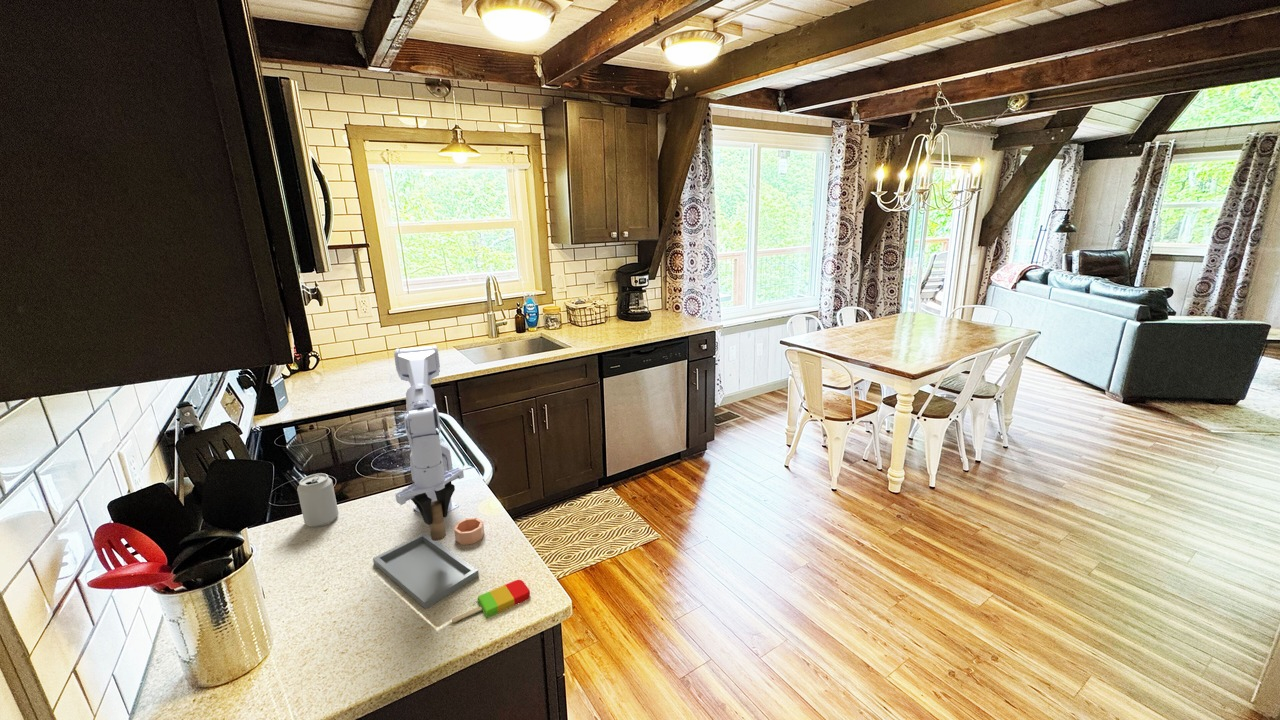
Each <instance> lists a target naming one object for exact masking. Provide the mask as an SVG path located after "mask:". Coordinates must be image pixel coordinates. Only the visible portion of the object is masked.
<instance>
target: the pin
mask: <svg viewBox="0 0 1280 720" xmlns="http://www.w3.org/2000/svg"><path fill="white" fill-rule="evenodd" d="M431 515H432V524H430V525H428V526H429V530H430V531H429V532H430V537H431V539H432V540H434V541H437V542H439V541H441V540H443V539H445V538H446V535H447V534H446V526H445V525H446V524H445V519H444V517H443V510H442V503H441V502H440V501H433V502H431Z"/></svg>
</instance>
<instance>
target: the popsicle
mask: <svg viewBox="0 0 1280 720" xmlns="http://www.w3.org/2000/svg"><path fill="white" fill-rule="evenodd" d="M530 597H531V591H530V589H529V588H528V586H527V585H526V583H525V582H524V581H523V580H522V579H516V580H513V581H511V582H509V583H506V584H504V585H501V586H499V587H497V588H494V589H491V590H490V591H486V592H485V593H482V594H480V595H478V597H477V602H478V605H479V606H478V607H476V608H473V609H471V610H468V611H466V612H465V613H464V612H463V613H462V614H460V615H457V616H455V617H453V618H452V619H451V622H452V623H453V624H454V623H457V622H459V621H461V620H463V619H466V618H468V617H470V616H473V615H475V614H477V613H479V612H483V614H484V616H485V617H486V618H487V619H488V618H491V617H493V616H495V615H496V614H499V613H502V612H504V611H505V610H508V609H510V608H512V607H515V606H516V604H517V605H519V604H522V603H524V602H526V601H528V600H529V599H530ZM525 600H526V601H525ZM523 601H524V602H523ZM518 603H519V604H518Z"/></svg>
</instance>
